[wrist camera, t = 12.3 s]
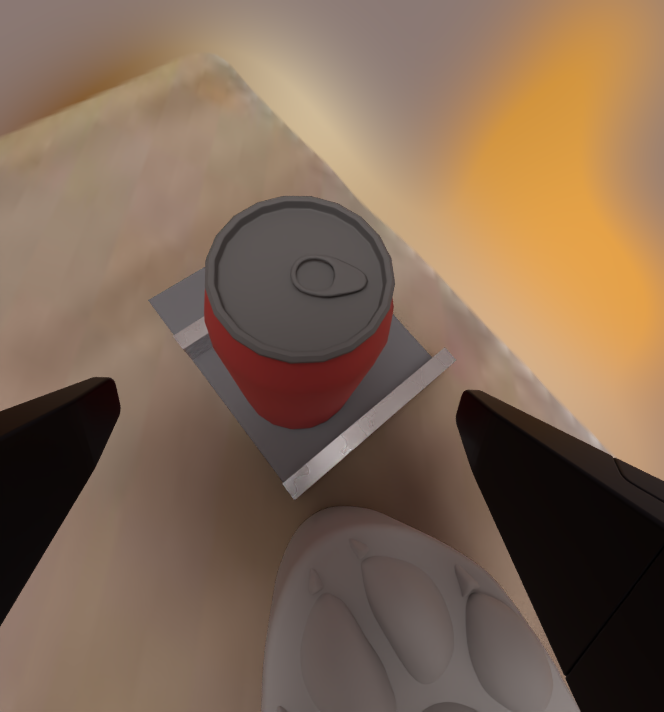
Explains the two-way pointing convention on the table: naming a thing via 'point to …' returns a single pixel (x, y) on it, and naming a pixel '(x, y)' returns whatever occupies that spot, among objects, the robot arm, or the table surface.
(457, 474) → the table surface
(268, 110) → the table surface
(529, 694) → the paw print puck
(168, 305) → the rail board
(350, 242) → the beer can
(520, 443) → the robot arm
